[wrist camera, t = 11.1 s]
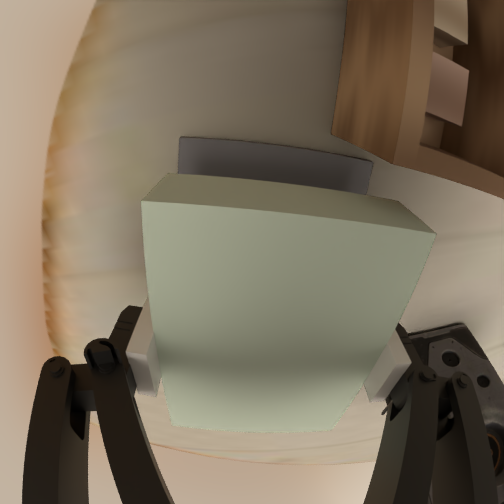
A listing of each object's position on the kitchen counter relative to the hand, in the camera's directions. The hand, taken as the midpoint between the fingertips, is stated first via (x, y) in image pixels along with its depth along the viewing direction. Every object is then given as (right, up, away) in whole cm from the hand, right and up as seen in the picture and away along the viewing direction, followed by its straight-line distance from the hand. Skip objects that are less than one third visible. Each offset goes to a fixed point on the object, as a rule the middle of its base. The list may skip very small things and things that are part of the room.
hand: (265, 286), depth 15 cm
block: (0, -1, -2) cm, 2 cm away
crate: (+7, +13, -4) cm, 15 cm away
